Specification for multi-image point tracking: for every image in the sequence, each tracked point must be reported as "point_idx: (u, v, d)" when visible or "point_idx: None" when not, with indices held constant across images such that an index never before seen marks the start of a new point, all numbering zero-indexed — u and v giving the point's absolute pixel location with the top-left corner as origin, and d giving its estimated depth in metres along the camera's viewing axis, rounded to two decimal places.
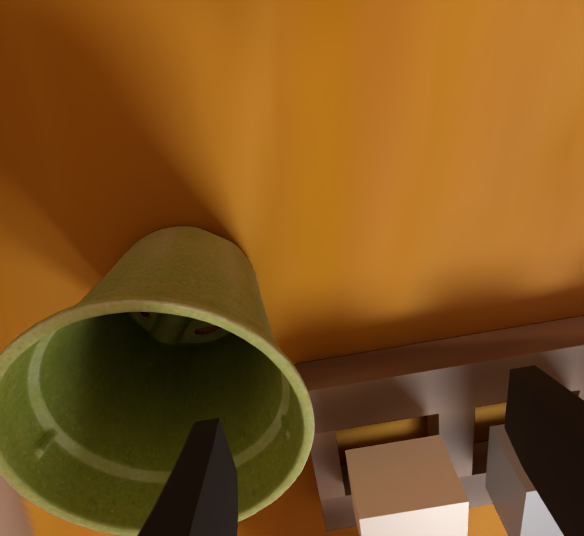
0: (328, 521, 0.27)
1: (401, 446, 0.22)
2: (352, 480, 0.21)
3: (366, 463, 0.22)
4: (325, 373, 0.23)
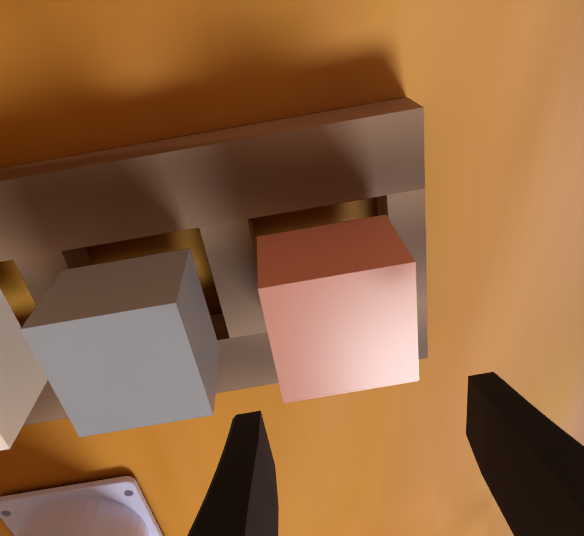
0: None
1: None
2: None
3: None
4: None
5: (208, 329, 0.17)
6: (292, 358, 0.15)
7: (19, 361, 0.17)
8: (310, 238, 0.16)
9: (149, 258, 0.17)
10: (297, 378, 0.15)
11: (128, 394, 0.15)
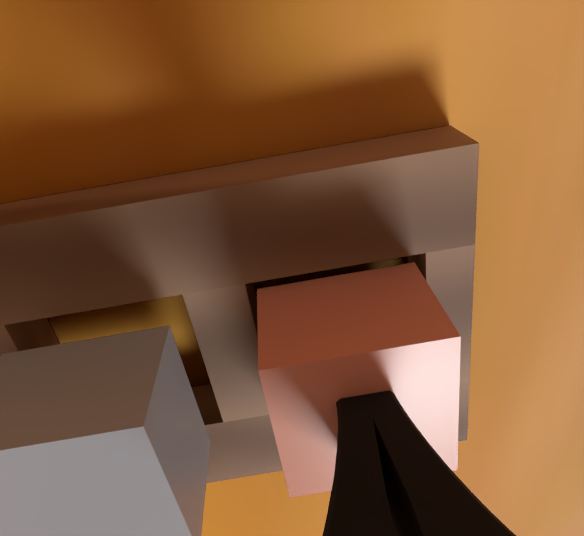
0: None
1: None
2: None
3: None
4: None
5: (194, 426, 0.14)
6: (301, 448, 0.12)
7: None
8: (322, 294, 0.13)
9: (115, 340, 0.13)
10: (307, 470, 0.12)
11: (83, 533, 0.11)
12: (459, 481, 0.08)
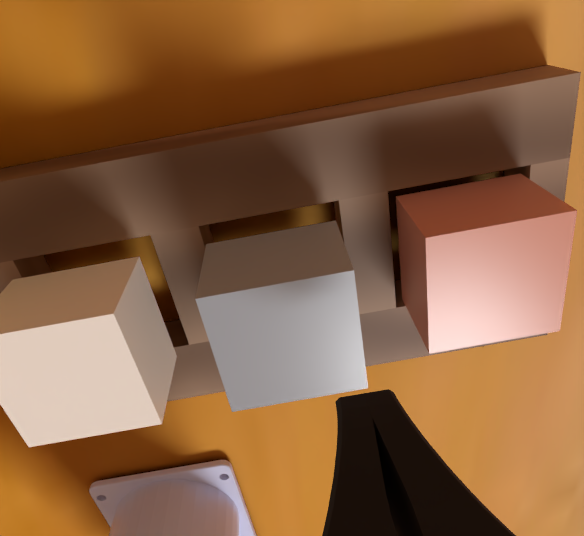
0: None
1: (82, 270, 0.16)
2: None
3: (24, 289, 0.16)
4: None
5: None
6: (445, 308, 0.16)
7: (159, 337, 0.17)
8: (452, 195, 0.17)
9: (296, 231, 0.16)
10: (446, 328, 0.16)
11: (289, 366, 0.15)
12: (459, 481, 0.08)
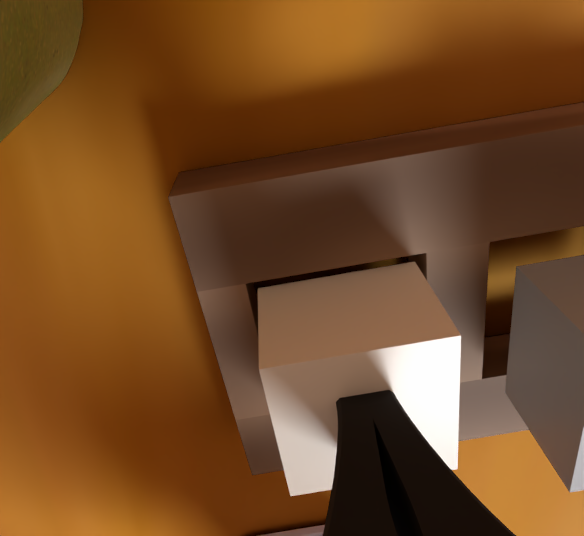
0: (253, 458, 0.17)
1: (350, 278, 0.13)
2: (260, 321, 0.12)
3: (288, 300, 0.13)
4: (224, 175, 0.13)
5: None
6: None
7: None
8: None
9: None
10: None
11: None
12: (459, 481, 0.08)
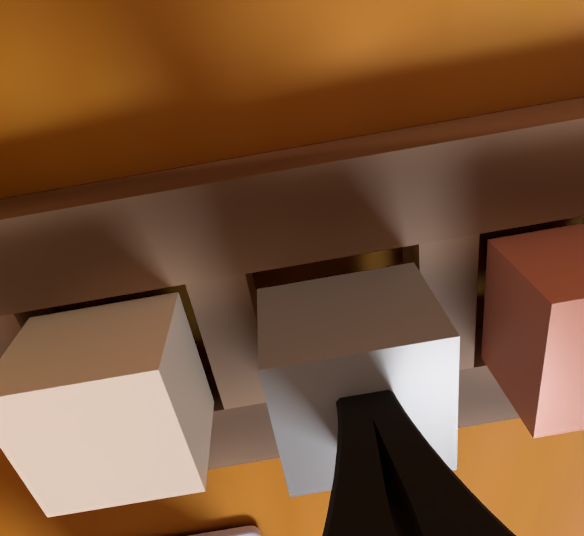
0: None
1: (113, 308, 0.14)
2: (6, 352, 0.13)
3: (45, 330, 0.14)
4: None
5: None
6: (562, 386, 0.12)
7: (199, 384, 0.15)
8: (563, 241, 0.13)
9: (367, 275, 0.13)
10: (559, 409, 0.13)
11: None
12: (459, 481, 0.08)
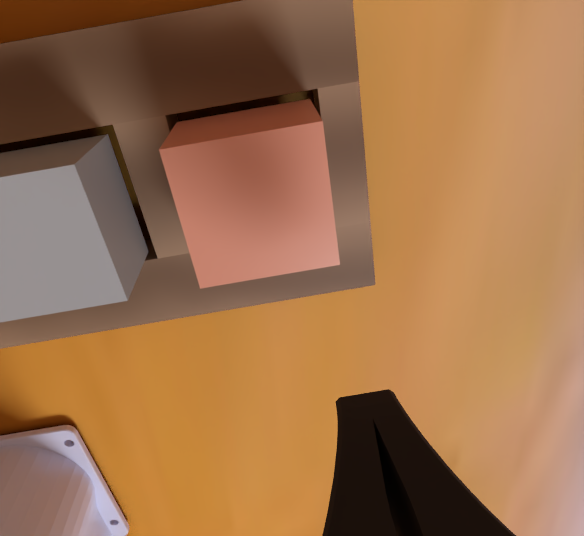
0: None
1: None
2: None
3: None
4: None
5: (130, 222, 0.17)
6: (203, 234, 0.14)
7: None
8: (227, 118, 0.15)
9: (64, 143, 0.16)
10: (211, 259, 0.15)
11: (36, 274, 0.15)
12: (459, 481, 0.08)
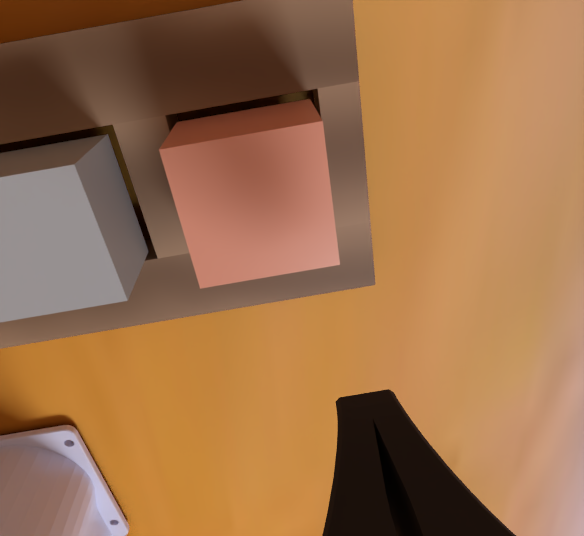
0: None
1: None
2: None
3: None
4: None
5: (130, 222, 0.17)
6: (203, 234, 0.14)
7: None
8: (227, 118, 0.15)
9: (64, 143, 0.16)
10: (211, 259, 0.15)
11: (36, 274, 0.15)
12: (459, 481, 0.08)
